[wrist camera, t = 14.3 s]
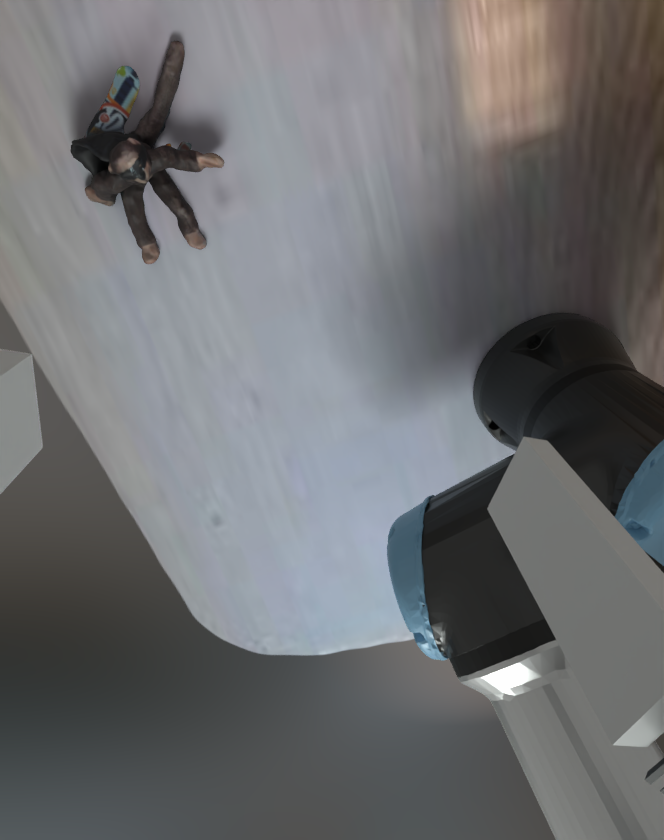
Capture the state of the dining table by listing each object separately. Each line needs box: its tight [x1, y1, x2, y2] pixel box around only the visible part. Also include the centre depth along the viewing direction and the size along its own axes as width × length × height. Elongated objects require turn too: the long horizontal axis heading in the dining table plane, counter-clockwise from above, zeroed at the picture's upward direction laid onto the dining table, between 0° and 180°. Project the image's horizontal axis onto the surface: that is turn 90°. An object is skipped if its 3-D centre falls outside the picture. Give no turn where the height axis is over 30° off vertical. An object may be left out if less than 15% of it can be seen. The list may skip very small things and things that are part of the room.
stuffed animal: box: [71, 41, 224, 264], centre depth 35 cm, size 12×10×12 cm
